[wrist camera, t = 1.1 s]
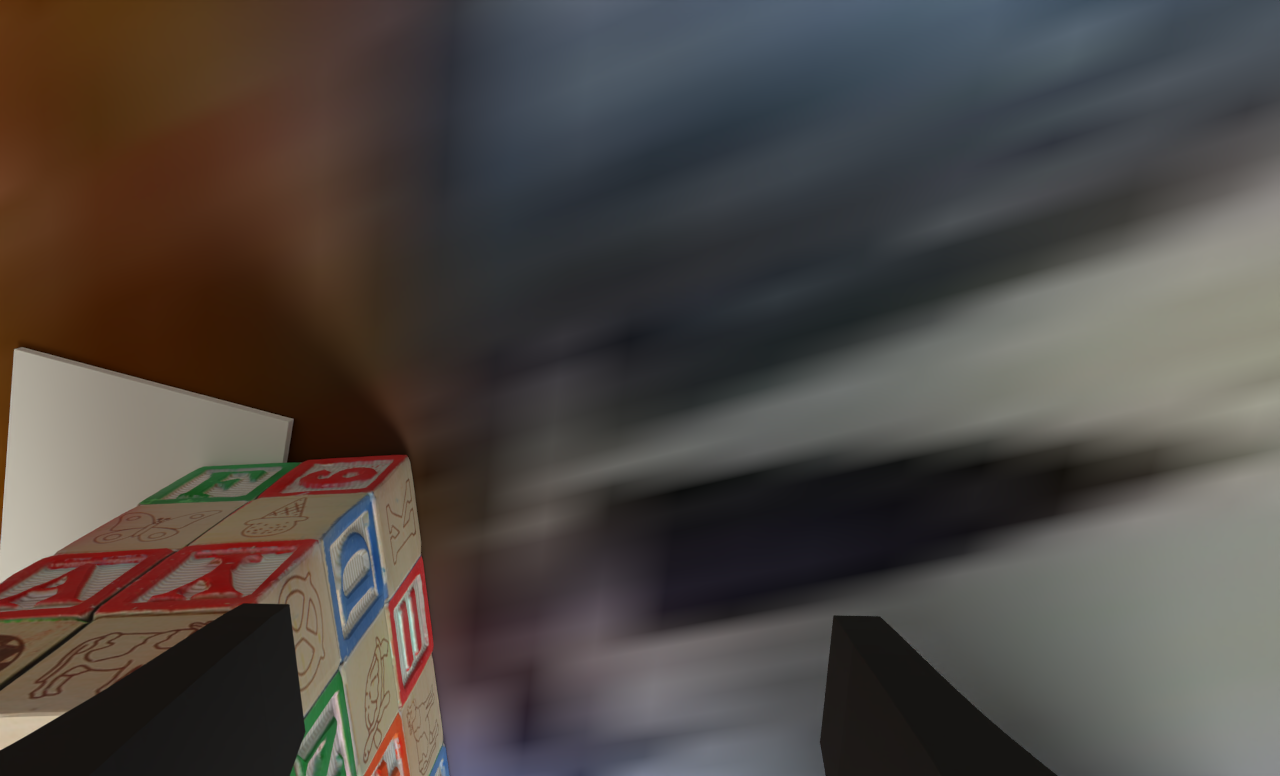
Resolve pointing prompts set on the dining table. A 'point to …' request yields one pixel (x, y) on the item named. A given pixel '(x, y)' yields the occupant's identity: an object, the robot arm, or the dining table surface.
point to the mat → (109, 448)
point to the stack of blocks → (247, 573)
